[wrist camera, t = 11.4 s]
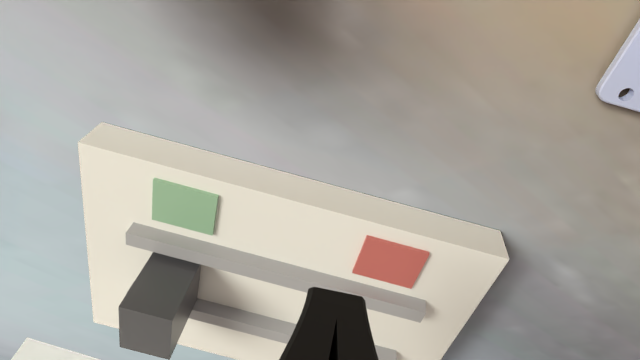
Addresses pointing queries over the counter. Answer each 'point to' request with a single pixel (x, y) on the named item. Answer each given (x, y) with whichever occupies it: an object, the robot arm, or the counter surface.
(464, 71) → the counter surface
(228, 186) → the slider switch base
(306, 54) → the counter surface
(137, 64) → the counter surface
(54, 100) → the counter surface
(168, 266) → the handle
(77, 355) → the milk
